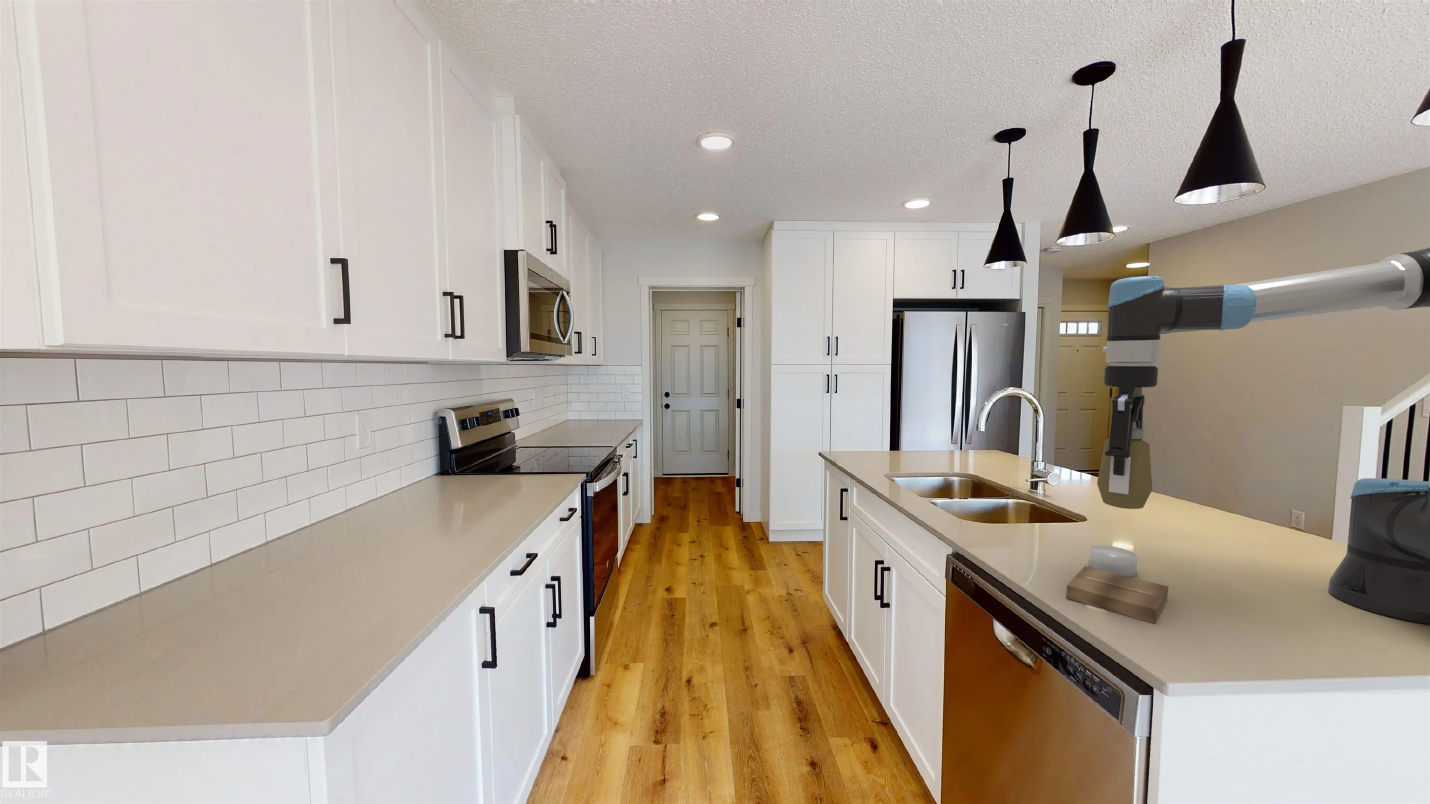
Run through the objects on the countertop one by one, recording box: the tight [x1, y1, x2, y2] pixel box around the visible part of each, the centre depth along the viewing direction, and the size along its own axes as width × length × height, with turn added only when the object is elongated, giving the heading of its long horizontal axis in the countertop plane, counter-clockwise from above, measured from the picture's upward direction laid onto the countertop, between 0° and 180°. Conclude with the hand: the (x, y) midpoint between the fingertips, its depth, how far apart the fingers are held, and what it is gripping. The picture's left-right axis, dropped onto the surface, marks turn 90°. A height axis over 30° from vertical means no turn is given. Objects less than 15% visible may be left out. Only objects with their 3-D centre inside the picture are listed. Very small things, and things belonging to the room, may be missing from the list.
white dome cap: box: [1088, 544, 1139, 578], centre depth 110 cm, size 8×8×4 cm
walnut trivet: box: [1065, 566, 1169, 625], centre depth 97 cm, size 13×13×3 cm
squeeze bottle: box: [1096, 422, 1153, 510], centre depth 95 cm, size 8×8×18 cm
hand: (1123, 488), depth 95 cm, fingers closed on squeeze bottle, 8 cm apart
